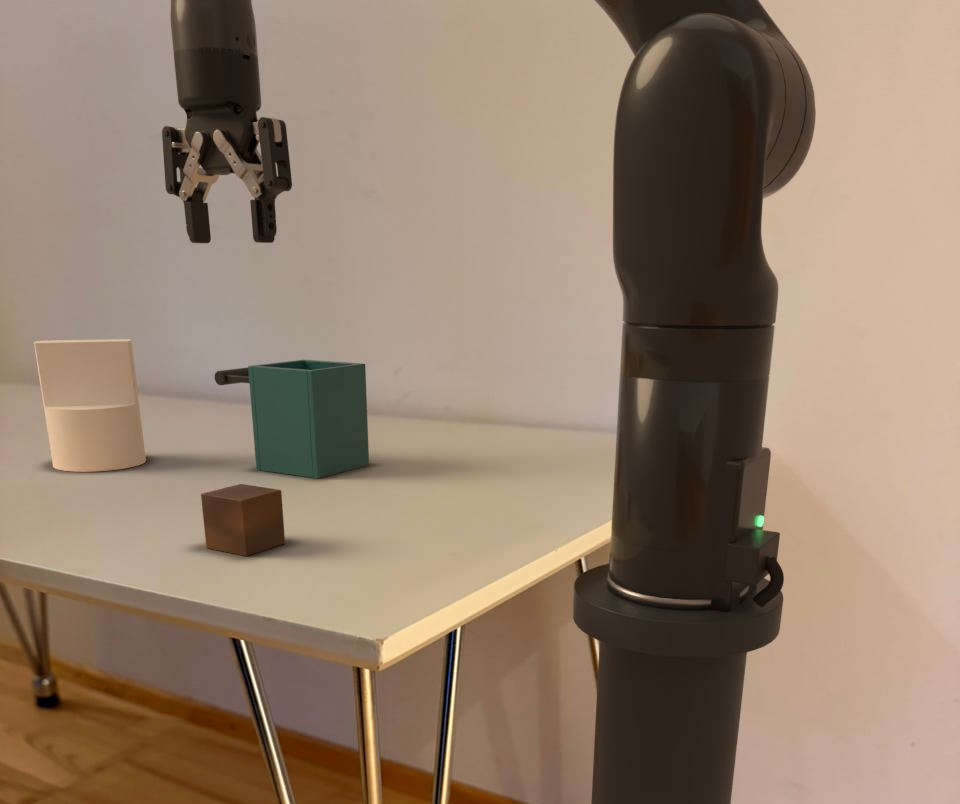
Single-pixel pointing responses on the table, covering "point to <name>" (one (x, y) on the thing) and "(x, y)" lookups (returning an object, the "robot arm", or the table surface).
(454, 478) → the table surface
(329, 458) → the teal open storage bin
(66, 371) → the base with upright slab
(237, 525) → the block
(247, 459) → the table surface
